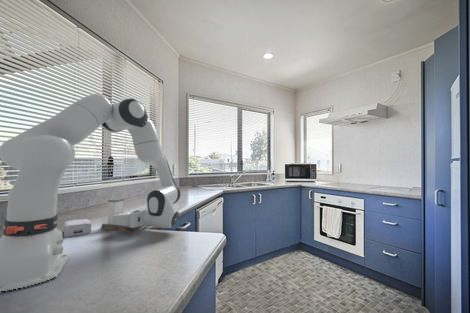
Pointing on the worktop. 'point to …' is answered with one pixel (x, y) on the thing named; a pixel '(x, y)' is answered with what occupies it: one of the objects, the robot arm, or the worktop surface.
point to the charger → (77, 227)
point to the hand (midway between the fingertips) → (118, 213)
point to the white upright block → (114, 208)
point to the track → (119, 227)
